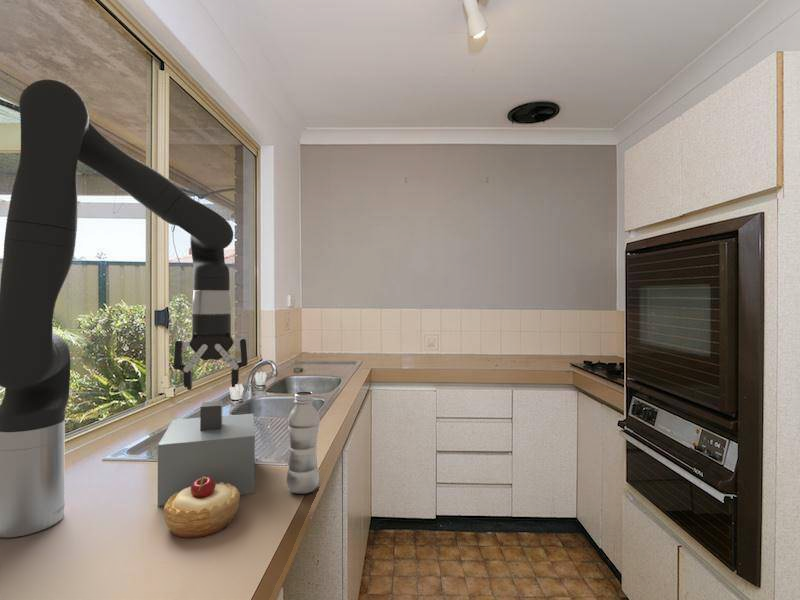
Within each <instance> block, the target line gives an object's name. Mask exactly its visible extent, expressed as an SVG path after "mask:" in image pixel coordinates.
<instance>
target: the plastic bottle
mask: <svg viewBox="0 0 800 600" xmlns="http://www.w3.org/2000/svg"><path fill="white" fill-rule="evenodd" d="M313 403H314V393H313V392H312V391H309V390H308V391H307V390H305V391H304V390H303V391H297V392H295V393H294V404H295V406H294V407H292V410H291V411H290V413H289V414H288V418H287V427H288V433H289V434H288V435H289V445H290V447H289V460H288V461H289V463H288V469H287V474H286V486H287V488H288V489H289V492H292V493H293V494H299V495H302V494H309V493H311V492H314V491H315V490H316V488H317V487H318V486H319V481H320V473H319V467H318V457H317V455H318V452H317V450H318V449H317V447H318V446H317V444H318V434H319V428H320V421H321V417H320V414H319V412H318V410H317V409H316V408H315V406H314V405H313Z"/></svg>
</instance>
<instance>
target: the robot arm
mask: <svg viewBox="0 0 800 600" xmlns="http://www.w3.org/2000/svg"><path fill="white" fill-rule="evenodd" d="M18 103H19V104H18V105H19V118H20V119H19V120H20V153H19V161H18V167H17V171H16V175H15V179H14V183H13V185H12V186H13V187H12V191H11V195H10V201H9V207H8V212H7V217H6V222H5V223H6V225H5V232H4V241H3V255H2V266H1V274H0V387H2V388H5V389H4V395H3V398H2V401H1V403H0V538H5V539H6V538H16V537H22V536H27V535H32V534H35V533H37V532H40V531H44V530H45V529H48V528H50V527H52V526H54V525H56V524H57V523H59V522H60V521H62V519H63V518H64V516H65V481H66V480H65V478H66V477H65V472H66V471H65V469H66V467H65V461H66V460H65V459H66V457H65V456H66V455H65V451H66V450H65V448H66V447H65V445H66V444H65V443H66V440H65V439H66V438H65V437H66V435H65V434H66V433H65V432H66V418H65V417H66V410H67V409H66V407H67V405H68V402H69V400H70V399H69V398H70V385H71V384H70V382H71V353H70V347H69V345H68V343H67V342H66V341H65V339H64V338H63V337H62V336H61V335H60V334H58V333H56V332H53V328H54V325H53V323H54V313H55V312H54V311H55V307H56V302H57V299H58V297H59V294H60V291H61V289H62V288H63V286H64V283H65V282H66V279H67V277H68V275H69V272H70V269H71V267H72V263H73V260H74V257H75V256H74V255H75V250H76V242H77V241H76V240H77V235H78V234H77V232H78V215H79V214H78V213H79V212H78V211H79V210H78V209H79V208H78V192H77V190H78V189H77V170H78V169H77V167H78V162H80V163H82V164H83V165H85V166H86V167H88V168H90V169H91V170H93V171H95V172H96V173H98V174H100V175H101V176H102V177H104V178H105V179H107V180H108V181H110V182H111V183H112V184H113V185H114V186H115V185H116V187H118V188H119V189H120V190H122V191H123V192H124V193H125V194H127V195H129V196H130V197H132V199H134V200H135V201H137V202H138V203H139V204H141V205H142V206H143V207H145V209H148V210H149V211H150V212H152V213H153V214H154V215H155V216H157V217H159V218H160V219H162V220H163V221H164V222H166V223H168V224H169V225H172V226H177V227H180V229H182V230H183V231H185V232H186V233H188V234H189V235H190V237H189V238H190V239H189V240H190V242H189V243H190V252H191V257H192V263H193V293H192V294H193V295H192V303H191V305H192V306H191V307H192V308H191V309H192V310H191V311H192V313H191V315H192V316H191V326H192V327H191V329H192V330H191V331H192V332H191V334H192V335H191V340H183V339H178V340H176V341H175V342H174V353H173V354H174V357H173V369H174V370H179V371H181V372H183V386H184V388H187V389H186V390H187V391H192V389H193V370H192V368H193V367H194V365H196V363H197V362H198V361H199V359H200V360H202V361H209V360H214V361H218V360H222V359H224V360H225V362H226V363H228V365H230V367H231V372H230V373H231V380H230V381H231V388H235V387H236V385H238V384H239V380H240V379H239V378H240V377H239V376H240V375H239V374H240V373H239V372H240V371H239V370H240V369H241V368H243V367H246V366H248V351H247V349H248V347H247V339H246V338H245V337H241V338H238V339H237V338H236V339H233V337H232V324H231V323H232V301H231V293H230V281H231V280H230V269H229V267H228V265H227V264H226V262H225V249H226V248H228V247H229V246H230V244H232V242H233V239H234V232H233V231H234V230H233V228H232V226H231V224H230V223H229V222H228V221H227V220H226V219H225V217H223V216H222V215H220V214H219V213H217V212H216V211H215V210H213V209H211V208H210V207H208V206H206V205H205V204H203V203H201V202H199V201H197V200H195V199H193V198H192V197H191V196H189V194H188V193H186V192H185V191H184V190H183V189H182V188H180V187H179V186H178V185H176V184H175V183H173V182H172V180H171V179H169V178H167V177H166V176H164V175H163V174H162V173H161V172H158V171H157V170H156V169H154V168H152V167H150V166H149V165H147V164H146V163H144V162H142V161H140V160H138V159H137V158H135V157H133V156H131V155H129V154H128V153H126V152H125V151H124V150H122V149H120V148H119V147H118V146H116V145H115V144H113V143H112V142H111V141H110V140H109V139H107V138H106V137H105V135H103V134H102V133H101V132H100V131H99V130H98V129H97V128H96V127H95V126H94V125H93V124H92V123H91V122H90V113H89V110H88V108H87V105H86V104H85V102H84V100H83V99H82V97H81V96H80V95H79V94H78V92H76V91H75V90H74V89H73V87H70V86H69V85H68V84H66V83H64V82H61V81H59V80H55V79H40V80H37V81H33V82H32V83H30V84H29V85H28V86H26V87H25V88H24V89H23V91H22V92H21V94H20V97H19V100H18ZM233 345H235V347H236V349H238V350H240V359H241V360H239V361H237V360H236V358H235V357H234V356H233V355H232V354H231V353H230V351H229V350H230V349H231V348H232V347H233ZM187 347H190V348H191V349H192V351H193V352H194V353H195V354H193V356H192V357H191V359H190V360H189V361H188V362H187V363H184V362H183V356H184V355H183V353H184V351H186V350H187V349H188V348H187Z"/></svg>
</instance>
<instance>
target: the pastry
mask: <svg viewBox="0 0 800 600" xmlns="http://www.w3.org/2000/svg"><path fill="white" fill-rule="evenodd" d="M240 498H241V495H240V492H239V491H238V489H237V488H236V487H235V486H232V485H231V484H229V483H227V484H224V483H223V482H219V484H217V483H216V482H215V480H214V479H213V478H211V477H204V476H203V477H202V478H200V479H197V480H196V481H195V482H194V483H193V484H192V486H190V487H188V488H185V489H183V490H181V491H180V492H179V493H175V494H174V495H173V496H171V497H170V498H169V499H168V501H167V502H166V504H165V506H164V507H163V516H164V522H165V524H166V526H167V528H168V530H169V531H170V532H171V533H172V534H173V535H174V536H176V537H179V538H183V539H184V538H186V539H191V538H192V539H193V538H201V537H207V536H210V535H212V534H216V533H218V532H220V531H222V530H224V529H225V528H226V527H228V526H229V525H230V524H229V523H231V522H232V520H234V518H235V516H236V514H237V511H238V509H239V506H240V500H241V499H240Z"/></svg>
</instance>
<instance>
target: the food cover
mask: <svg viewBox="0 0 800 600" xmlns="http://www.w3.org/2000/svg"><path fill="white" fill-rule="evenodd" d="M199 411H200V413H199V414H200V417H192V418H191V417H190V418H179V419H178V418H177V419H172V420H171V422H170V423H169V426H168V428H167V429H166V431H165V432H164V434H163V435H162V437H161V440H160V441H159V443H158V444H157V507H163V506H165V504H166V502H167V501H168V499H169V498H170V497H171V496H173V495H174V494H175V493H179V492H180V491H181V490H183V489H185V488H188V487H190V486H192V484H193V483H194V482H195V481H196V480H197V479H200V478H202V477H203V476H204V477H211V478H213V479H214V480H215V482H216V483H217V484H219V482H223V483H224V484H227V483H229V484H231V485H232V486H235V487H236V488H237V489H238V491H239V492H240V496H243V494H245V495H251V494H252V493H253V494H255V467H256V465H255V459H256V458H255V457H256V455H255V451H256V449H255V448H256V447H255V445H256V442H255V441H256V438H255V436H256V435H255V415H254V413H245V414H243V413H242V414H241V413H240V414H232V415H228V414H227V415H223V401H222V400H219V401H206V402H205V401H204V402H203V401H202V403H201V405H200V410H199Z"/></svg>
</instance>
